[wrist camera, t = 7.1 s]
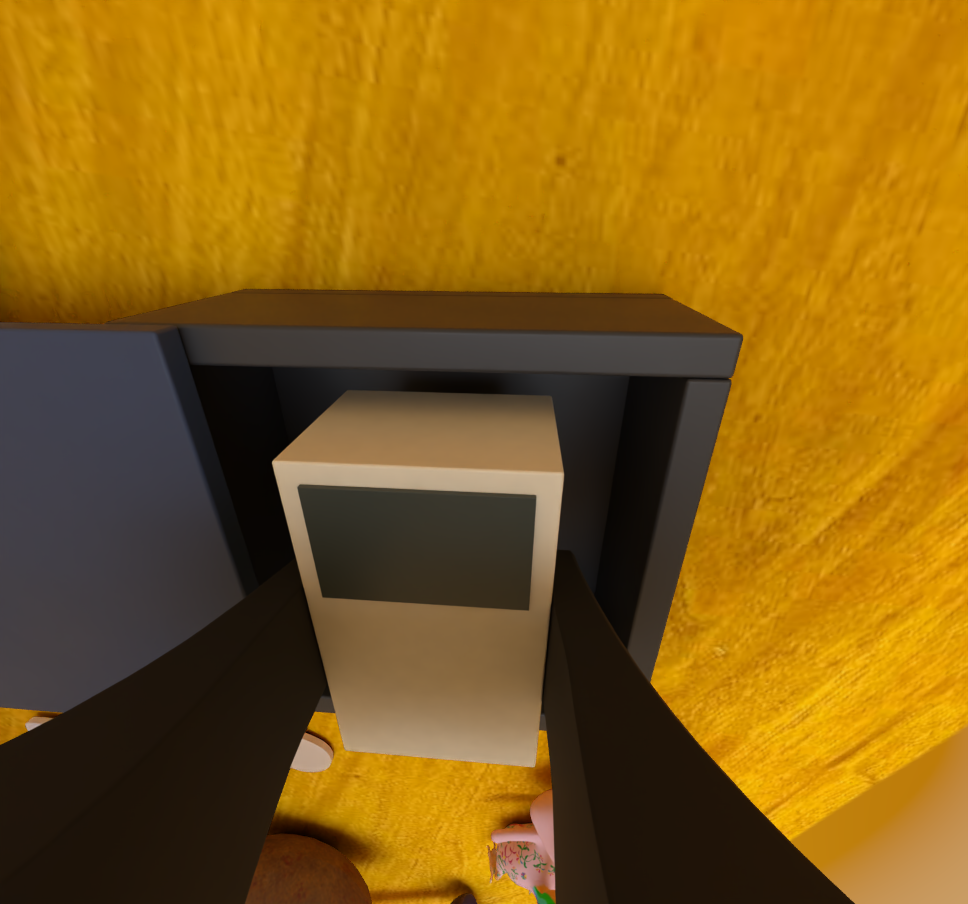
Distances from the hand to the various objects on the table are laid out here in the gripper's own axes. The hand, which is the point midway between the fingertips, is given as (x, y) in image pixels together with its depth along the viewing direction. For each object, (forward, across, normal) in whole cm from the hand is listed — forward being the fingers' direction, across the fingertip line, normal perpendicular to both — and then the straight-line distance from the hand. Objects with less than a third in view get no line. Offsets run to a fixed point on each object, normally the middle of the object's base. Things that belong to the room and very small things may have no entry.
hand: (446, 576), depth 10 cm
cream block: (+1, 0, 0) cm, 1 cm away
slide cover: (0, +10, 0) cm, 10 cm away
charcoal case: (+5, 0, 0) cm, 5 cm away
